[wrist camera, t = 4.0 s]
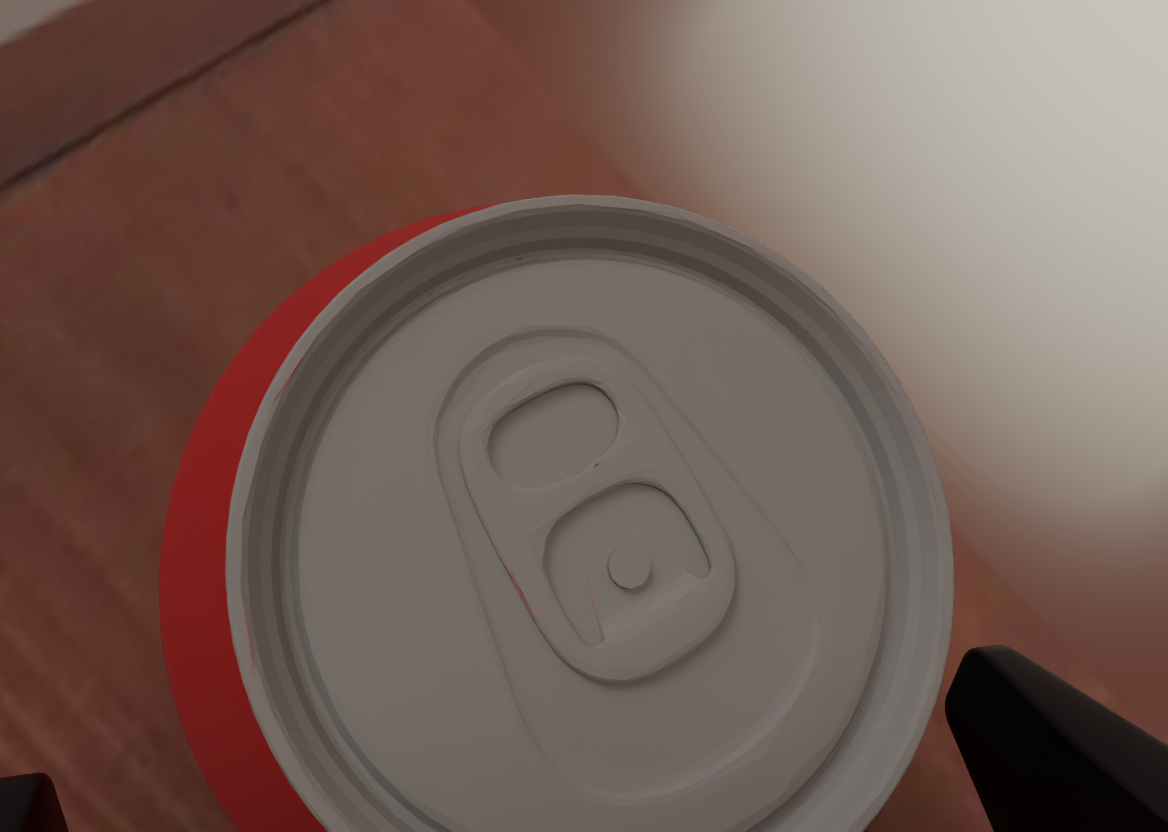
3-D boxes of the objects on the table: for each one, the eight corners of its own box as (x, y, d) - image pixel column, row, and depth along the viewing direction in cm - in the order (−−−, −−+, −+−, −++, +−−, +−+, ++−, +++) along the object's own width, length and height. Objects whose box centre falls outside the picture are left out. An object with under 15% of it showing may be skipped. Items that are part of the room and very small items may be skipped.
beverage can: (373, 865, 17) (426, 1348, 5) (197, 528, 17) (-89, 329, 6) (684, 663, 19) (1188, 709, 8) (518, 368, 19) (757, -5, 8)
